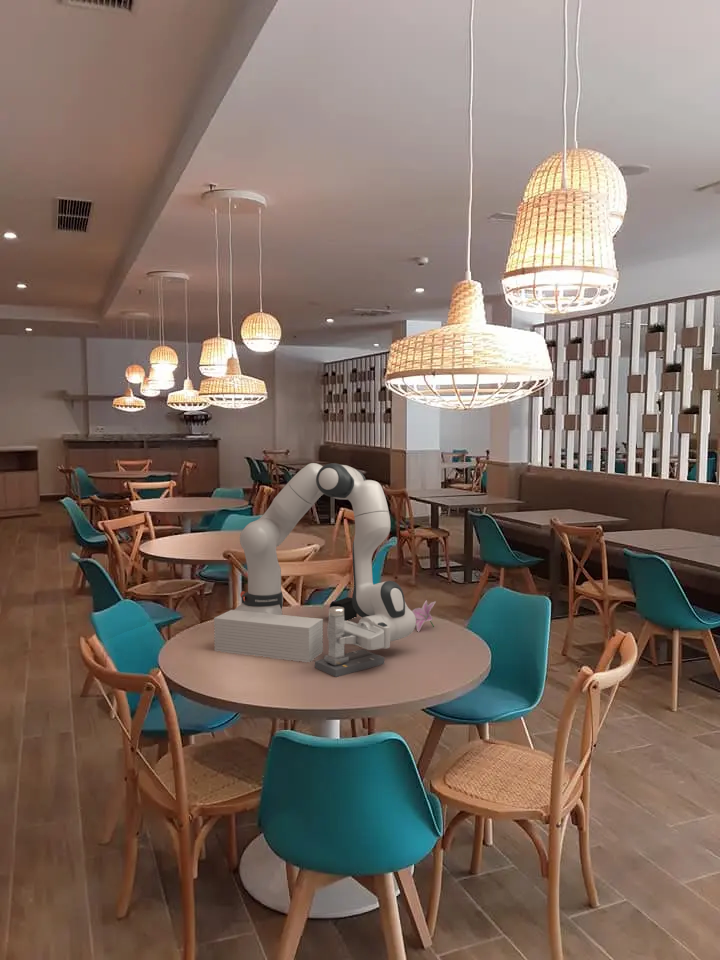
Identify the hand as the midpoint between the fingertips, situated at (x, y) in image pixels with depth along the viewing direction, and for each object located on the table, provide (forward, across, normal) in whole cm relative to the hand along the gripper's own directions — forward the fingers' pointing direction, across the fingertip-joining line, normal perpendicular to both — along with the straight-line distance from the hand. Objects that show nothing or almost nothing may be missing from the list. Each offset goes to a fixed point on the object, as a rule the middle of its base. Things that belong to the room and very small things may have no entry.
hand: (333, 639), depth 212 cm
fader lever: (-1, 0, +7) cm, 7 cm away
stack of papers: (+5, -26, +10) cm, 29 cm away
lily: (-50, -15, +9) cm, 53 cm away
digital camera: (-36, -42, +9) cm, 56 cm away
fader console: (-6, 0, +9) cm, 11 cm away
